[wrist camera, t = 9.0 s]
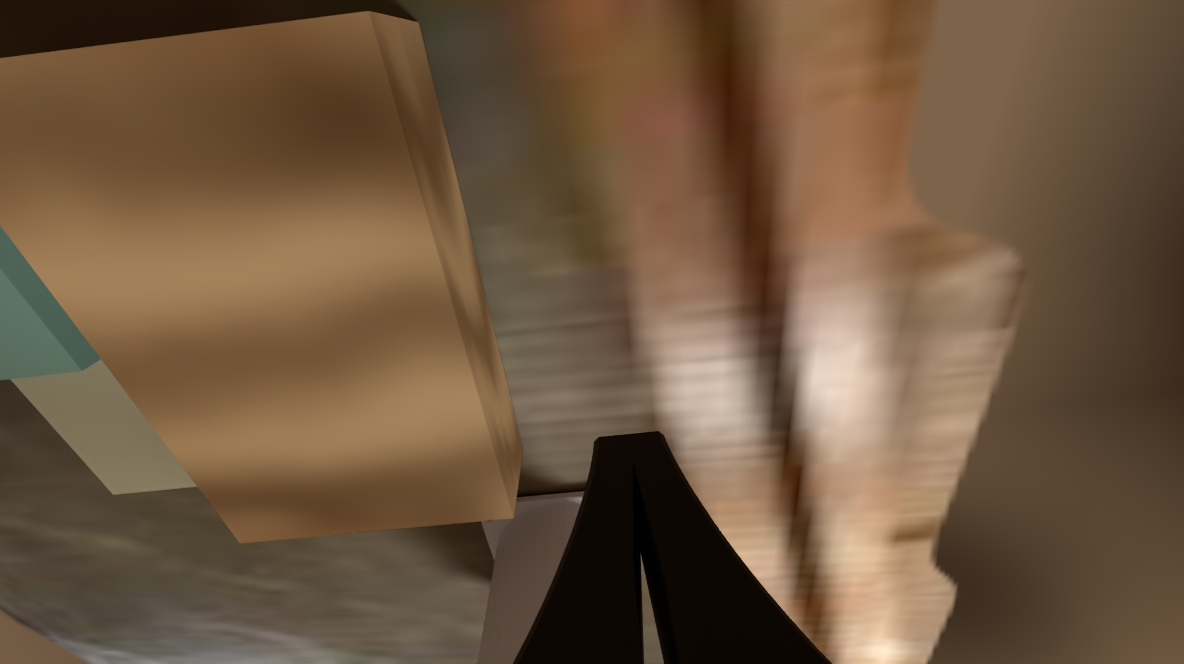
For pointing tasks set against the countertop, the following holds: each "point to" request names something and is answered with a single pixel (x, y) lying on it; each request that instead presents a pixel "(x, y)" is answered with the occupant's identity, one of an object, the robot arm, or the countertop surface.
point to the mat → (105, 429)
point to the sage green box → (35, 323)
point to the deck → (271, 267)
